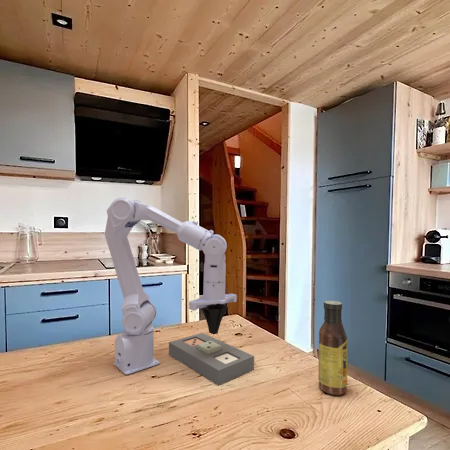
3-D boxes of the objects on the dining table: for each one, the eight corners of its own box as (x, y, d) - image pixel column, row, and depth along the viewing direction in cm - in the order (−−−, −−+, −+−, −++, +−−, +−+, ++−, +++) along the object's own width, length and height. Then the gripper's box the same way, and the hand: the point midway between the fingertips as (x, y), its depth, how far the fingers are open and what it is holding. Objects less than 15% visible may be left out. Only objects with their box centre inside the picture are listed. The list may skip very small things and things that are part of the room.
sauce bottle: (349, 398, 66) (350, 307, 66) (319, 395, 68) (320, 305, 68) (344, 383, 73) (345, 299, 73) (316, 380, 74) (317, 298, 74)
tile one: (225, 371, 75) (225, 363, 75) (213, 365, 78) (213, 357, 78) (239, 366, 78) (239, 358, 78) (227, 360, 81) (227, 352, 81)
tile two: (207, 356, 80) (208, 349, 80) (197, 351, 83) (197, 344, 83) (221, 352, 83) (221, 345, 83) (210, 346, 87) (210, 340, 86)
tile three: (192, 353, 85) (192, 346, 85) (183, 348, 89) (183, 341, 89) (205, 348, 88) (205, 342, 88) (195, 344, 92) (195, 337, 92)
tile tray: (218, 385, 71) (218, 370, 71) (168, 354, 88) (168, 342, 88) (253, 369, 79) (254, 356, 79) (202, 343, 95) (202, 332, 95)
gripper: (201, 287, 72) (200, 344, 72) (245, 280, 82) (243, 331, 82) (184, 282, 77) (183, 335, 78) (227, 276, 87) (226, 324, 87)
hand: (213, 332), depth 80 cm, fingers closed
